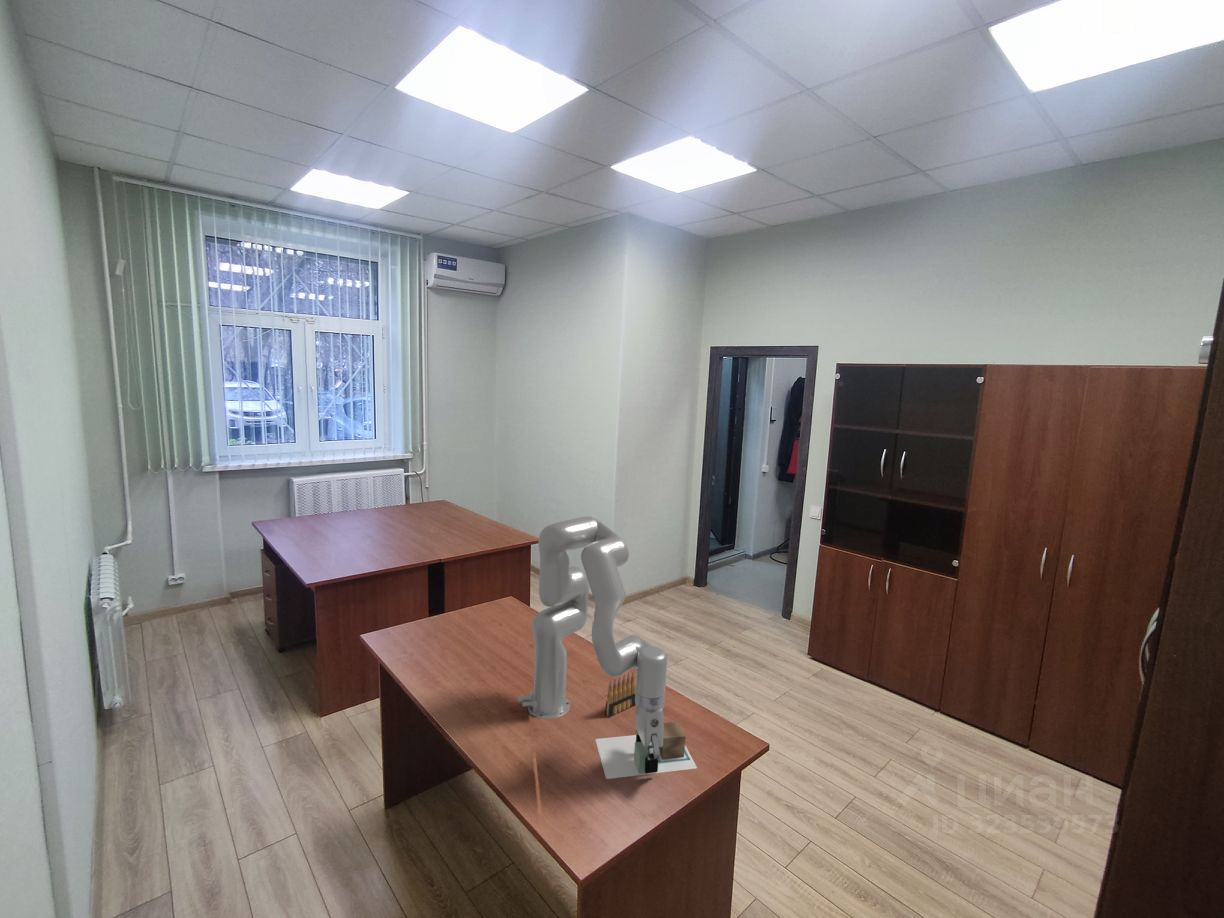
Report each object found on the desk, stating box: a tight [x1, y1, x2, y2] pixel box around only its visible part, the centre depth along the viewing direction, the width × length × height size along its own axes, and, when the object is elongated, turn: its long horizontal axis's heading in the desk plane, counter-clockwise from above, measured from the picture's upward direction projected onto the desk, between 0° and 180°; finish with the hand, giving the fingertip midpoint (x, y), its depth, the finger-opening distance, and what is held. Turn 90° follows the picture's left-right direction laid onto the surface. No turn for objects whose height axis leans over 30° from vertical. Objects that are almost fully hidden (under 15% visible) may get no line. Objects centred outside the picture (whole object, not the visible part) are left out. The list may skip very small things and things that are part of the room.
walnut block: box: [659, 721, 686, 760], centre depth 142 cm, size 6×6×6 cm
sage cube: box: [634, 742, 659, 774], centre depth 136 cm, size 5×5×5 cm
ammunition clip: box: [604, 670, 637, 718], centre depth 158 cm, size 11×2×12 cm, turn 129°
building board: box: [595, 734, 698, 780], centre depth 141 cm, size 24×15×1 cm, turn 102°
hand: (646, 759), depth 136 cm, fingers open, 8 cm apart
